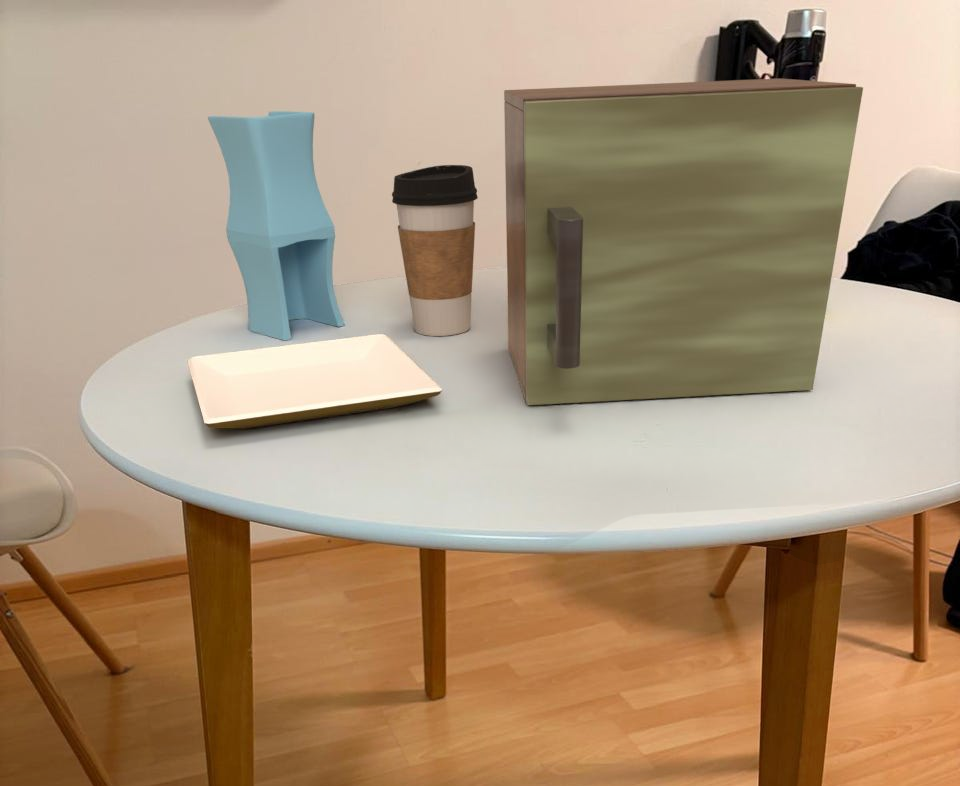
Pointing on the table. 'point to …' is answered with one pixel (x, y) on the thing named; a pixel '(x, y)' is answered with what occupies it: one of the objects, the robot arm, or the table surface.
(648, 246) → the door
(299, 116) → the vase
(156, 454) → the table surface
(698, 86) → the cupboard
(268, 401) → the plate
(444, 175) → the coffee cup
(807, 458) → the table surface
